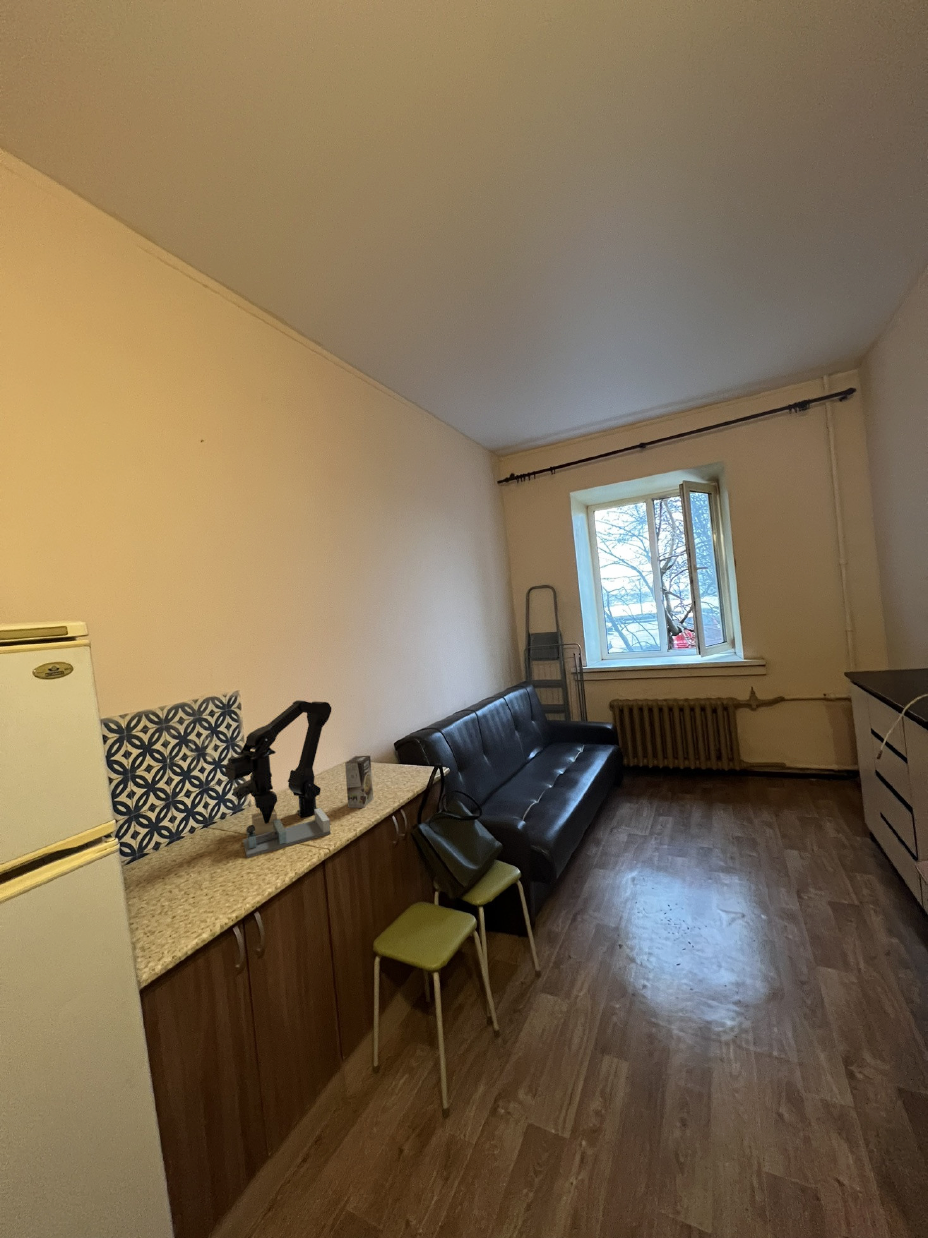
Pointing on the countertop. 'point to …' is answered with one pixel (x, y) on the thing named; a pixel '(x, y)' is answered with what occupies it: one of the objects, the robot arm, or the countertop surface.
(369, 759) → the coffee box
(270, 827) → the oak block
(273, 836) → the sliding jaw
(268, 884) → the countertop surface
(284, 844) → the vise bed
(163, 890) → the countertop surface
